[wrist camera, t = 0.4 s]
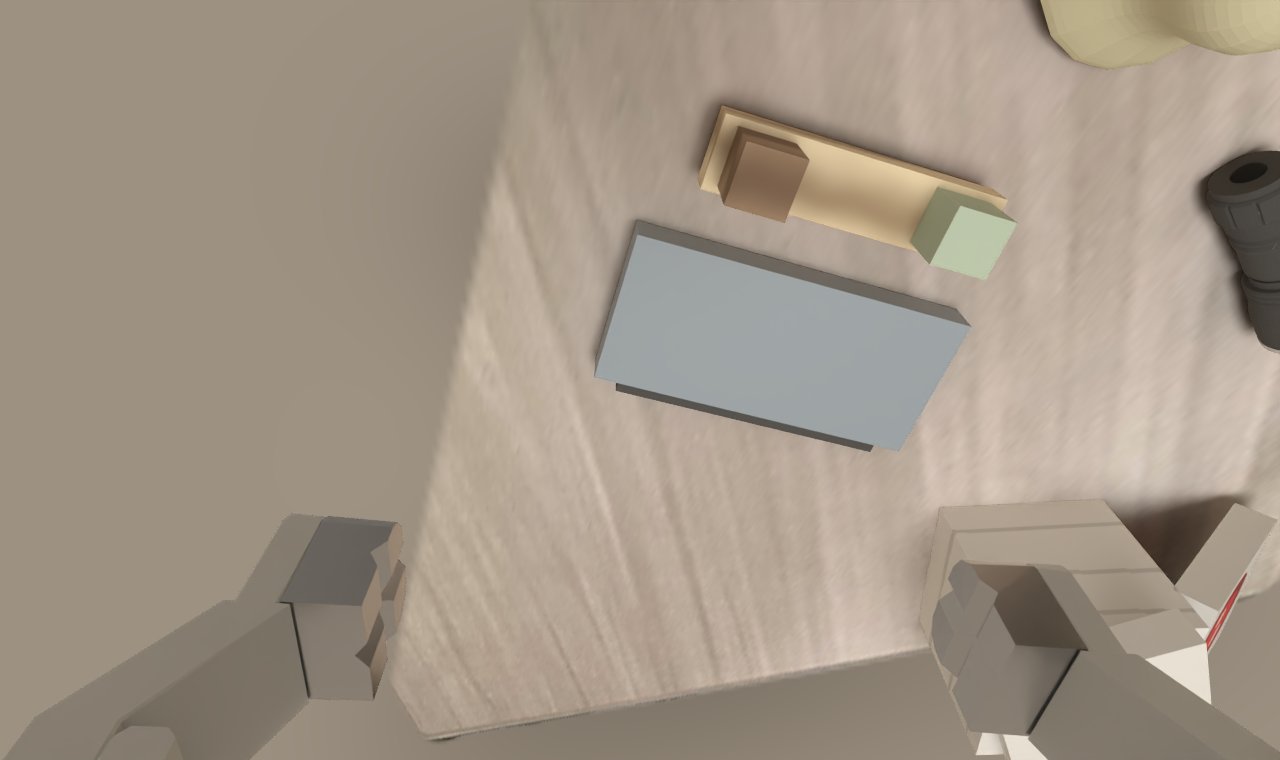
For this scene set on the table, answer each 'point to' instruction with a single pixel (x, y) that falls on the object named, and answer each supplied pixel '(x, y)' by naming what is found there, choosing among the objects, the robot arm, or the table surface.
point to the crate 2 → (962, 233)
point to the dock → (773, 341)
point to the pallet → (845, 181)
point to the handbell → (1160, 28)
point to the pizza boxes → (1104, 583)
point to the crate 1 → (762, 174)
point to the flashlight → (1253, 233)
